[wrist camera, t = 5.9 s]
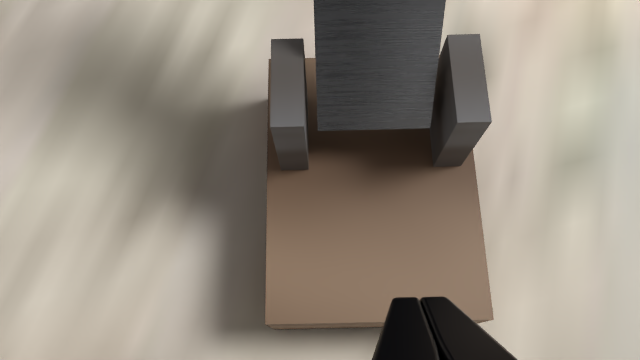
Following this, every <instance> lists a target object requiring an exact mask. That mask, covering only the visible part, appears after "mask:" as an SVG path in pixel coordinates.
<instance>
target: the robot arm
mask: <svg viewBox="0 0 640 360" xmlns="http://www.w3.org/2000/svg"><path fill="white" fill-rule="evenodd" d="M372 360H517V359H516V358H515V357H514V356H513V355H512V354H511V353H509V352H508V351H507V350H506V349H505V348H504V347H503V346H501V345H500V344H499V343H498V342H497V341H496V340H495V339H494V338H492V337H491V336H490V335H489V334H488V333H487V332H486V331H485V330H483V329H482V328H481V327H480V326H479V325H478V324H477V323H475V322H474V321H473V320H472V319H471V318H470V317H469V316H468V315H466V314H465V313H464V312H463V311H462V310H461V309H460V308H458V307H457V306H456V305H455V304H454V303H453V302H452V301H451V300H449V299H448V298H446V297H443V296H437V297H422V298H421V299H420V300H419V299H418V298H416V297H396V298H393V299H392V301H391V304H390V307H389V310H388V313H387V316H386V319H385V322H384V325H383V328H382V331H381V334H380V337H379V340H378V343H377V346H376V349H375V352H374V355H373V358H372Z"/></svg>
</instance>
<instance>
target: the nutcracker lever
mask: <svg viewBox="0 0 640 360" xmlns="http://www.w3.org/2000/svg"><path fill="white" fill-rule="evenodd" d="M445 2H446V0H314V23H315V56H316V90H317V123H318V131H338V130H380V129H422V128H430V125H431V117H432V109H433V101H434V92H435V84H436V76H437V68H438V59H439V51H440V43H441V35H442V26H443V18H444V10H445Z"/></svg>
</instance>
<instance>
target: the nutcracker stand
mask: <svg viewBox="0 0 640 360" xmlns="http://www.w3.org/2000/svg"><path fill="white" fill-rule="evenodd" d="M491 122H492V120H491V113H490V106H489V99H488V91H487V84H486V77H485V69H484V62H483V55H482V48H481V40H480V34H465V35H447V38H446V40H445V43H444V46H443V48H442V51H441V54H440V55H439V59H438V68H437V76H436V84H435V92H434V101H433V109H432V117H431V125H430V128H422V129H380V130H338V131H318V123H317V90H316V58H305V55H304V42H303V39H271V59H269V79H268V152H267V224H266V297H265V325H267V326H269V327H271V328H273V329H311V328H358V327H383V325H384V322H385V319H386V316H387V313H388V310H389V307H390V304H391V301H392V299H393V298H396V297H416V298H418V299H419V300H420V299H421V298H422V297H437V296H443V297H446V298H448V299H449V300H451V301H452V302H453V303H454V304H455V305H456V306H457V307H458V308H460V309H461V310H462V311H463V312H464V313H465V314H466V315H468V316H469V317H470V318H471V319H472V320H473V321H474V322H475V323H481V322H485V321H490V320H494V319H493V311H492V302H491V294H490V286H489V278H488V270H487V262H486V253H485V245H484V237H483V229H482V221H481V212H480V204H479V196H478V188H477V180H476V172H475V163H474V155H473V148H474V147H475V145H476V144H477V142H478V141H479V139H480V138H481V137H482V135H483V134H484V132H485V131H486V129H487V128H488V126H489V125H490V124H491Z"/></svg>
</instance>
